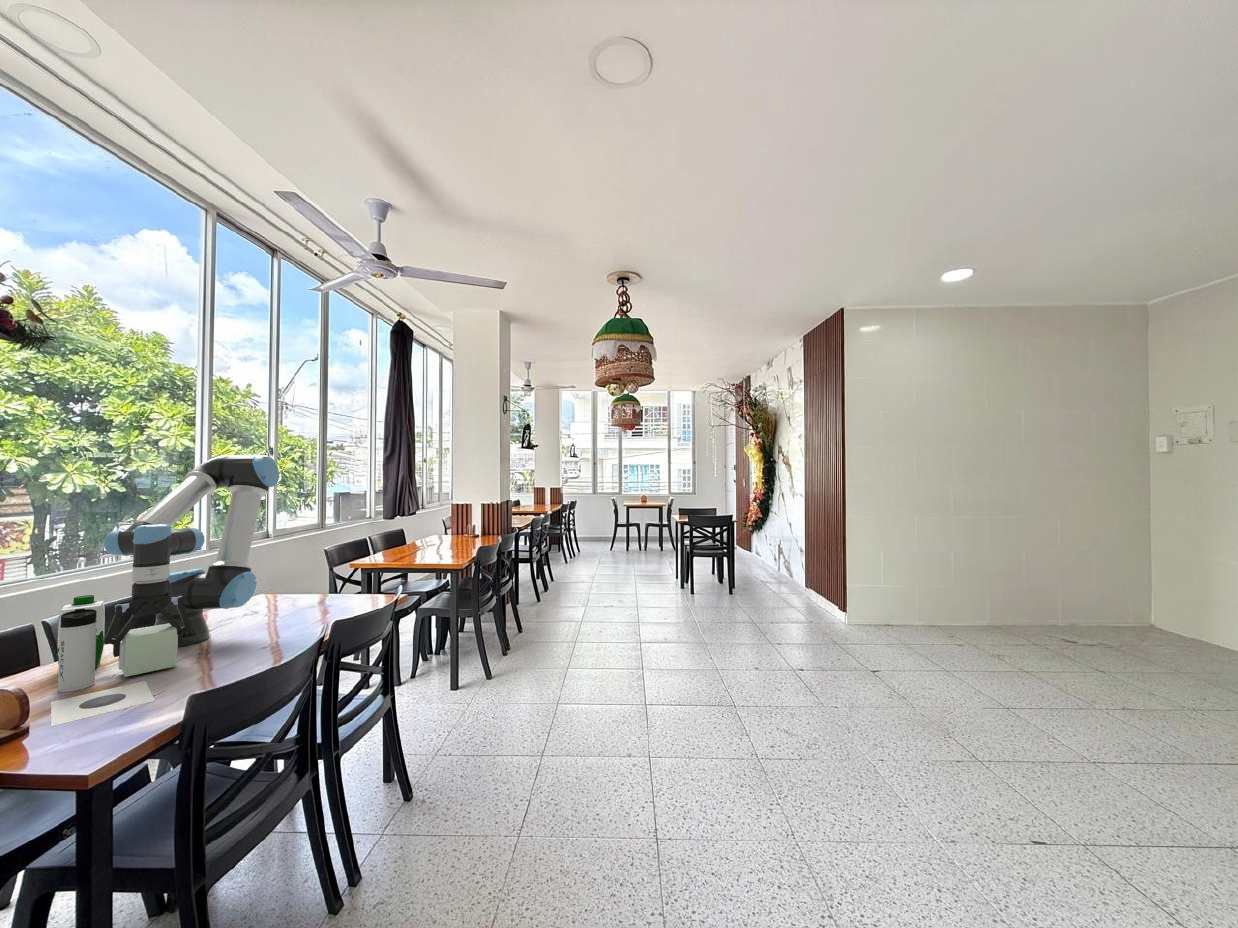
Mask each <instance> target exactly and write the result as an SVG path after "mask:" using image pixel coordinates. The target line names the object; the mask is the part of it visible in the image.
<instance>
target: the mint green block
mask: <svg viewBox="0 0 1238 928" xmlns="http://www.w3.org/2000/svg"><path fill="white" fill-rule="evenodd" d="M121 642H123V643H124V663H123V669H121V672H122V675H123V677H124V678H125V677H130V676H136V675H140V674H145V673H150V672H155V671H159V670H164V669H168V668H174V667H177V658H176V642H177V629H176V628H175V627H172V626H171V624H170V623H168V624H162V625H156V626H154V625H152V626H151V625H150V626H145V627H144V626H143V627H138V628H131V629H130V631H129V632H128V633H127V635H124V639H123V640H122V641H121Z"/></svg>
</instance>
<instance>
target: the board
mask: <svg viewBox="0 0 1238 928" xmlns="http://www.w3.org/2000/svg"><path fill="white" fill-rule="evenodd" d="M155 701H156V699H155V698H154V696H153V694H152V692H151V690H150V688H149V685H148V684H147V682H146V681H145V680H143V681H139V682H134V683H131V684H125V685H121V686H116V687H112V688H108V689H103V690H99V691H95V692H90V693H84V694H81V695H75V696H72V697H68V698H63V699H59V700H54V701H51V702H50V717H51V718H50V723H51V724H50V726H51V727H54V726H55V727H56V726H59V725H63V724H66V723H71V722H75V721H78V720H83V719H88V718H92V717H95V716H99V715H103V714H108V713H112V712H115V711H119V710H123V709H128V708H131V707H136V706H140V705H143V704H148V703H152V702H155Z"/></svg>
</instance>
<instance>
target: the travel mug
mask: <svg viewBox="0 0 1238 928" xmlns="http://www.w3.org/2000/svg"><path fill="white" fill-rule="evenodd" d="M96 616H97V611H96V610H93V609H85V608H82V609H75V611H71V612H67V613H64V614H62V615H61V622H60V623H61V624H60V629H61V630H60V640H59V665H58V669H57V670H58V671H57V674H58V676H57V692H58V693H62V694H63V693H73V692H77V691H80V690H81V691H82V690H86V689H87V688H90V687H92V686H94V685H95V678H96V670H95V655H96V623H97V622H96Z"/></svg>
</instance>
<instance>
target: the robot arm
mask: <svg viewBox="0 0 1238 928" xmlns="http://www.w3.org/2000/svg"><path fill="white" fill-rule="evenodd" d="M279 478H280V473H279V467H278V465H277V462H276V461H275V460H274V458H273V457H271V456H270V455H269V456H268V455H264V454H263V455H262V454H223V455H219V456H216V457H212V458H210V459H208V460H206V461H203V462H202V463H200V464H198V465H197V466H196V467H194V468H192V469H191V470H190V471H189V472H188V473H186V474H185V476H184V478H183V481H182V482H181V483H179V484H178V485H177V486H176V487H175V488H173V489H172V490H171V491H170V492H169V493H167V495H165V497H163V498H162V499H161V500H160V501H158V502H157V503H156V504H155V505H154V506H152V507H150V509H148V511H147V512H145V513H144V514H142V516H141V517H139V518H138V519H137V520H136V521H135V522H134V523H133V524H131V525H130V526H129V527H127V528H126V529H125V528H123V529H122V528H121V529H114V530H113V531H110V532H109V533H108V534H107V535H106V536H105V538H104V541H103V547H104V549H105V552H107V553H108V554H109V555H112V556H124V557H128V556H131V557H133V558H132V559H133V560H132V561H133V563H132V574H131V575H132V576H131V577H132V578H131V581H133V582H134V583H133V584H132V585H131V598H130V601H129V602H128V603H123V604H120V603H117V604H115V605H114V615H113V617H112V620H111V622H110V624H109V627H108V630H107V632H106V633H105V635H104V645H112V647H113V648H112V655H113V657H114V658H117V657H118V665H117V666H118V667H117V668H118V670H121V669H123V663H124V643H123V642H122V640H123V639H124V635H127V633H128V632H129V631H130V630H131V629H133V626H135V624H136V622H137V621H138V620H139V619H140V618H141V617H147V616H148V617H149V616H152V615H153V616H155V622H154V625H153V626H156V625H162V624H168V623H170V624H171V626H172V627H175V628H176V629H177V642H176V659H177V658H178V648H179V647H185V646H189V645H193V644H196V643H200V642H202V641H205V640H207V639H208V638H210V629H209V626H208V624H207V622H206V619H205V616H204V610H208V609H211V610H212V609H214V610H215V609H217V610H218V609H222V610H223V609H225V610H228V609H229V610H230V609H236V608H241V607H243V606H245V605H246V604H247V602H250V600H251V598H252V597H253V596H254V594H255V592H256V589H257V582H258V581H257V576H256V575H255V574H254V572H252V567H251V566H250V564H249V563H248V561H249V557H250V552H251V546H252V542H253V538H254V533H255V529H256V524H257V519H258V515H259V510H260V506H261V503H262V498H263V497H264V496H266V495H268V494H269V489H270V488H273V487H275V486H276V485H277V484H278V482H279ZM221 488H227V490H228V491H229V492H230V493H231V497H230V502H229V504H228V510H227V513H226V517H225V518H226V519H225V523H224V526H223V530H222V535H221V539H220V542H219V547H218V552H217V554H216V555H217V556H216V559H215V562H213V563H212V564H210V565H209V566H208V567H207V568H208V569H207V572H206V571H205V569H204V568H193V569H187V570H182V571H176V572H170V570H171V569H170V568H171V567H170V566H171V565H170V564H171V556H177V555H185V554H187V555H188V554H191V553H193V552H197V551H199V550H200V549H201V548H202V547H203V546H204V543H205V535H204V533H203V532H202V530H200V529H199V528H194V527H184V528H172V527H173V526H174V525H175V524H176V523H177V522H178V521H179V520H180V519H181V518H183V516H184V515H186V513H188V512H189V511H190V510H191V509H193V507H195V506H196V504H198V502H200V501H201V500H202V499H203V498H204V497H205V496H206V495H210V494H212V493H214V492H215V491H217V490H218V489H221ZM129 608H130V609H131V610H132V611H133V613H132V614H131V616H130V618H129V619H128V621H127V622H126V623H125V625H124V626H123V627H122V628H121V630H120V631H119V633H117V635H116V636H115V638H114V635H115V633H116V630H117V628H118V626H119V624H120V622H121V619H122V616H123V613H126V612H127V609H129ZM121 671H122V670H121Z"/></svg>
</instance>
